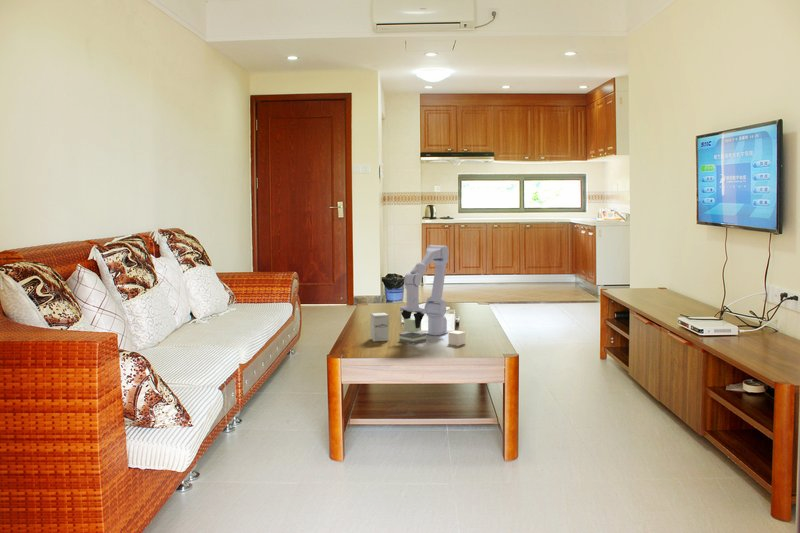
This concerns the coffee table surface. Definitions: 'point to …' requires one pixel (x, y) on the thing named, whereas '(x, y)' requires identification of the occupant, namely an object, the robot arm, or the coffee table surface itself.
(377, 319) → the supplement box
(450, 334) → the cream block
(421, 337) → the grey striped square box
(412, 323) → the sage block
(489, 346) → the coffee table surface
